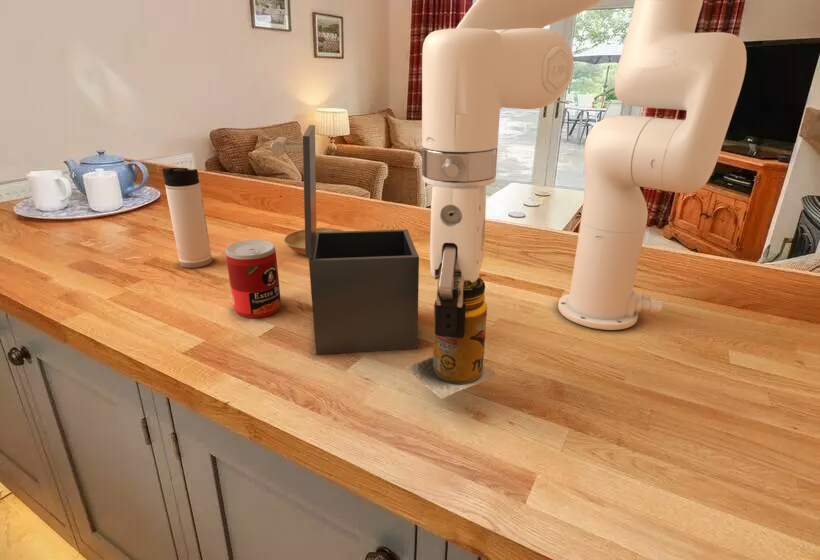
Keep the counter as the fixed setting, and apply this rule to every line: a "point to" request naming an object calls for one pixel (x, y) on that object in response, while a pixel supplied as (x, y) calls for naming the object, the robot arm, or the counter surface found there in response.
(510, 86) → the robot arm
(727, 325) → the counter surface
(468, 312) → the condiment
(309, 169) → the lid
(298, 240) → the plant saucer
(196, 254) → the travel mug
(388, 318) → the bin
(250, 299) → the canned food
